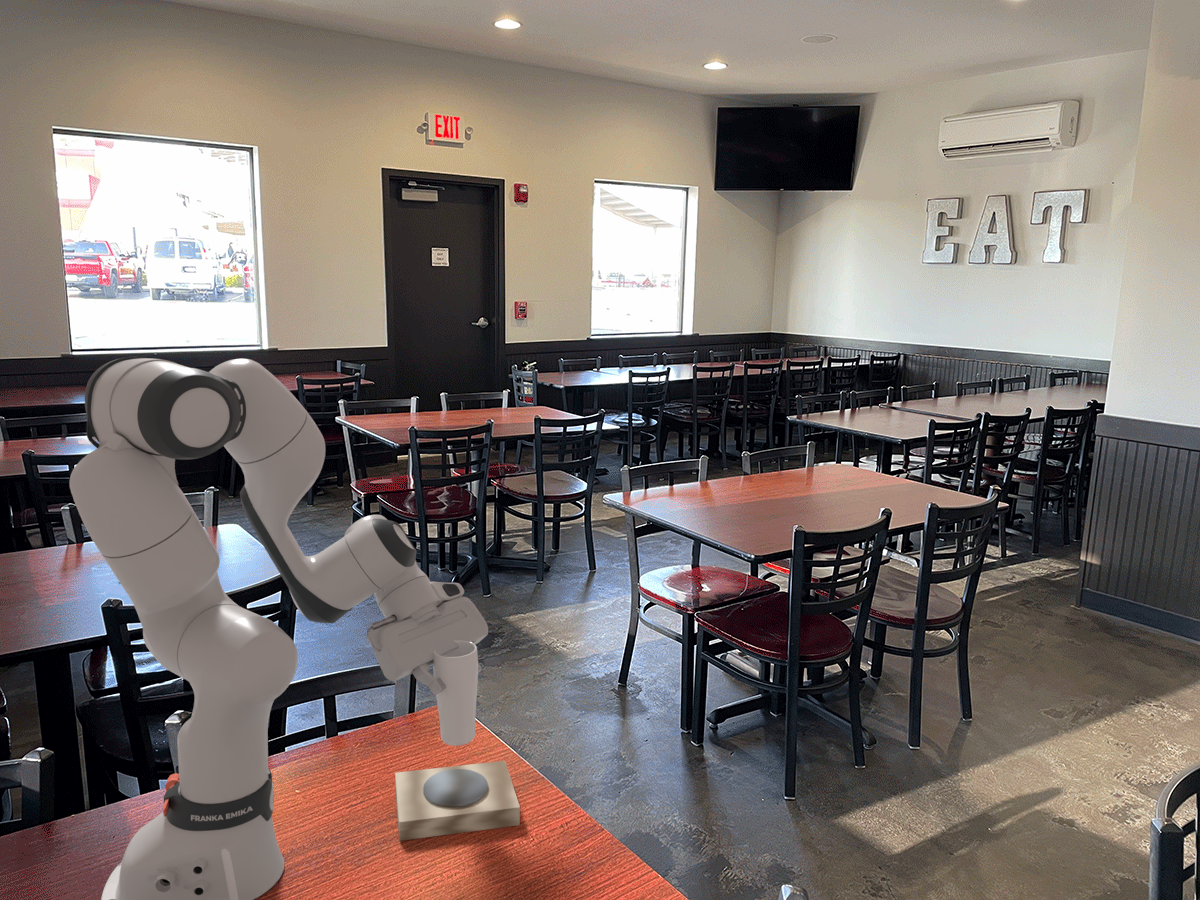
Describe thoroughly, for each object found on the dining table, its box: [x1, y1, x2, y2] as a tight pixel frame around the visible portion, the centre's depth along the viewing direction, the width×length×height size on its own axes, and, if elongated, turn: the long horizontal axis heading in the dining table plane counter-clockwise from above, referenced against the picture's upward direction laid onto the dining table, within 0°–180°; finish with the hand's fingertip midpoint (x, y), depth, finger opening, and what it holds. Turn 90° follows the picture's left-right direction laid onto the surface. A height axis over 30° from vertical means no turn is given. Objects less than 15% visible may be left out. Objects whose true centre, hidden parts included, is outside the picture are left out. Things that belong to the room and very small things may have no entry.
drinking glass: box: [432, 640, 479, 747], centre depth 136 cm, size 7×7×15 cm
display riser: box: [394, 760, 521, 842], centre depth 139 cm, size 18×14×4 cm
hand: (458, 682), depth 135 cm, fingers closed on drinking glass, 7 cm apart
